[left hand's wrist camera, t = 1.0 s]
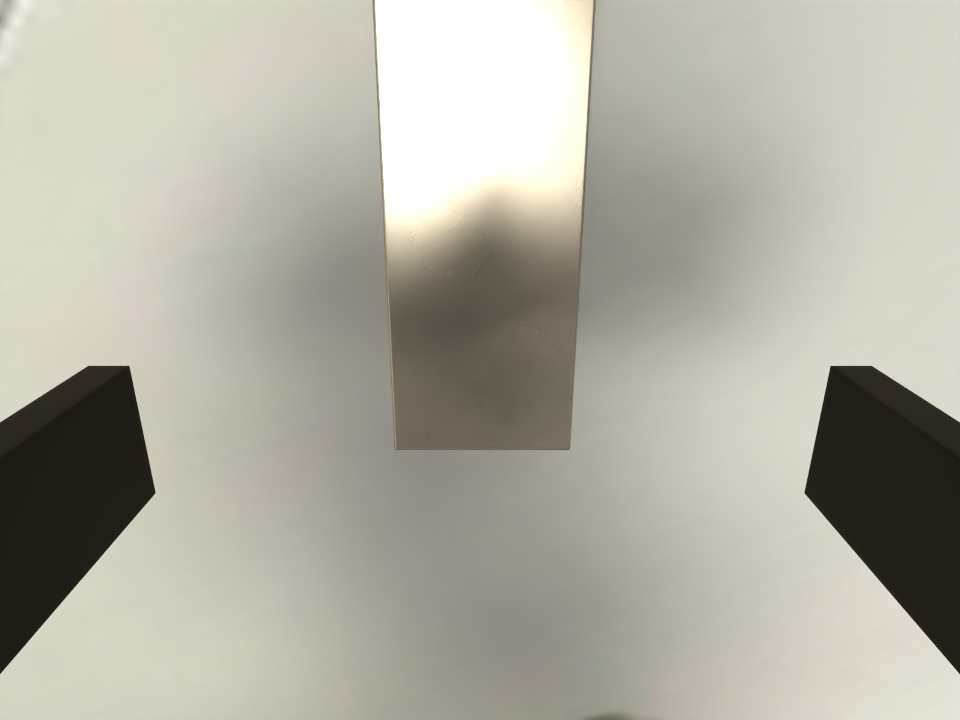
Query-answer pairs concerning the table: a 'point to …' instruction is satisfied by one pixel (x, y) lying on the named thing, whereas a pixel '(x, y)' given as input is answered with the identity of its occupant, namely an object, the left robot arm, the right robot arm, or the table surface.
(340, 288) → the table surface
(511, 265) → the bar
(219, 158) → the table surface
